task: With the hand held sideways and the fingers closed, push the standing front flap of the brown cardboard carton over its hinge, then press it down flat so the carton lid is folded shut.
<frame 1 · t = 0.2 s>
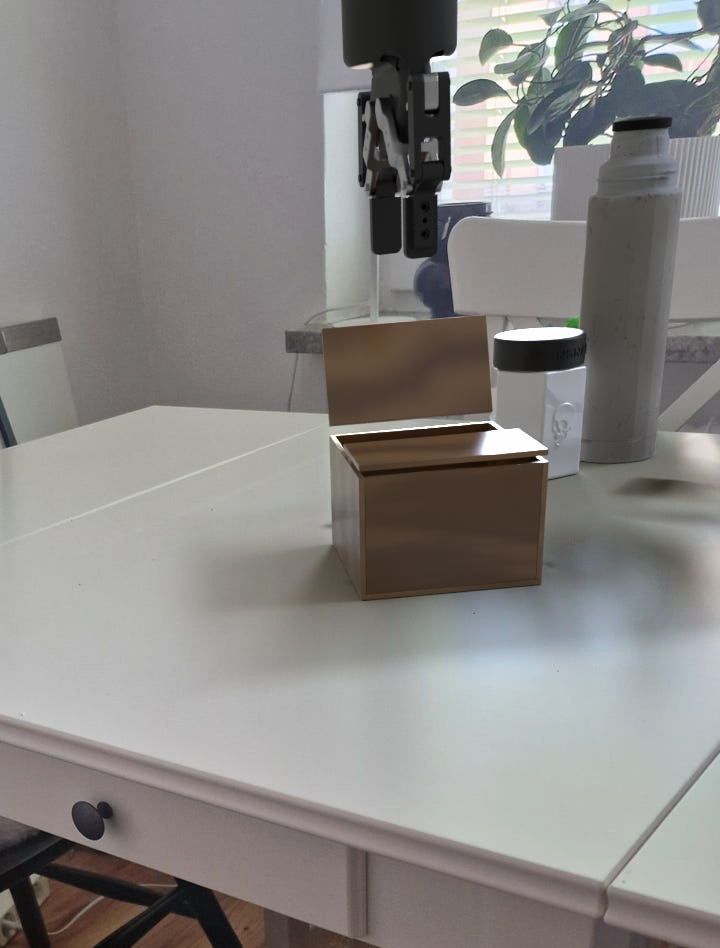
hand: (402, 255, 83), 20 cm above the table, tool pointing down, fingers open, 8 cm apart
carton: (429, 562, 88), on the table
flap: (407, 370, 89), point 12 cm above the table, hinge at 115.0°
thermos bottle: (611, 456, 114), on the table
fruit basket: (596, 431, 124), on the table
jar: (532, 473, 110), on the table
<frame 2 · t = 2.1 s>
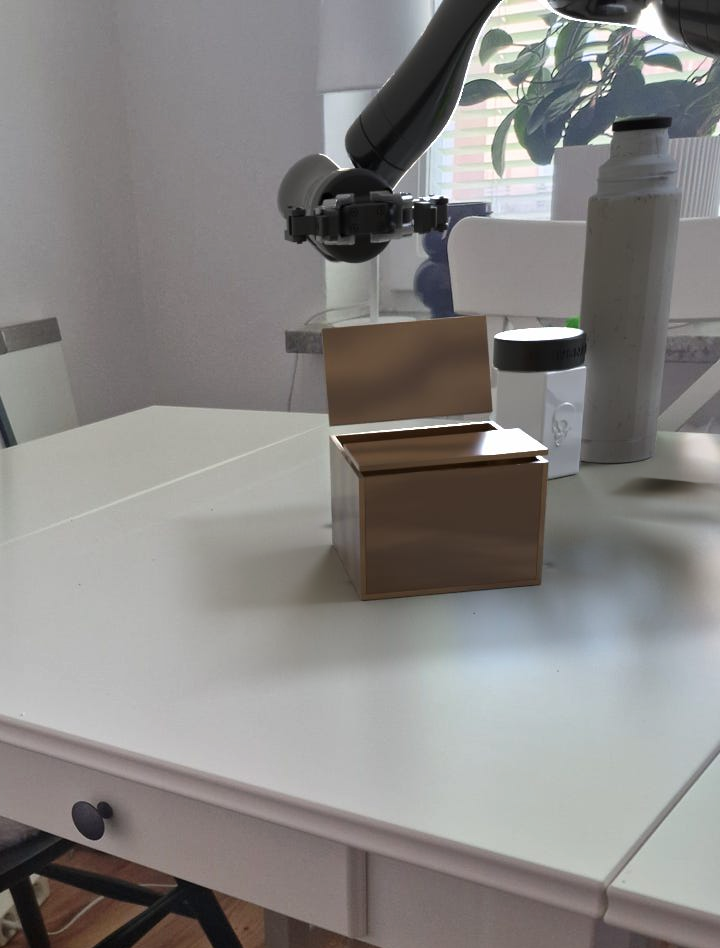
hand: (380, 222, 94), 22 cm above the table, tool horizontal, fingers open, 7 cm apart
nothing on the table moved.
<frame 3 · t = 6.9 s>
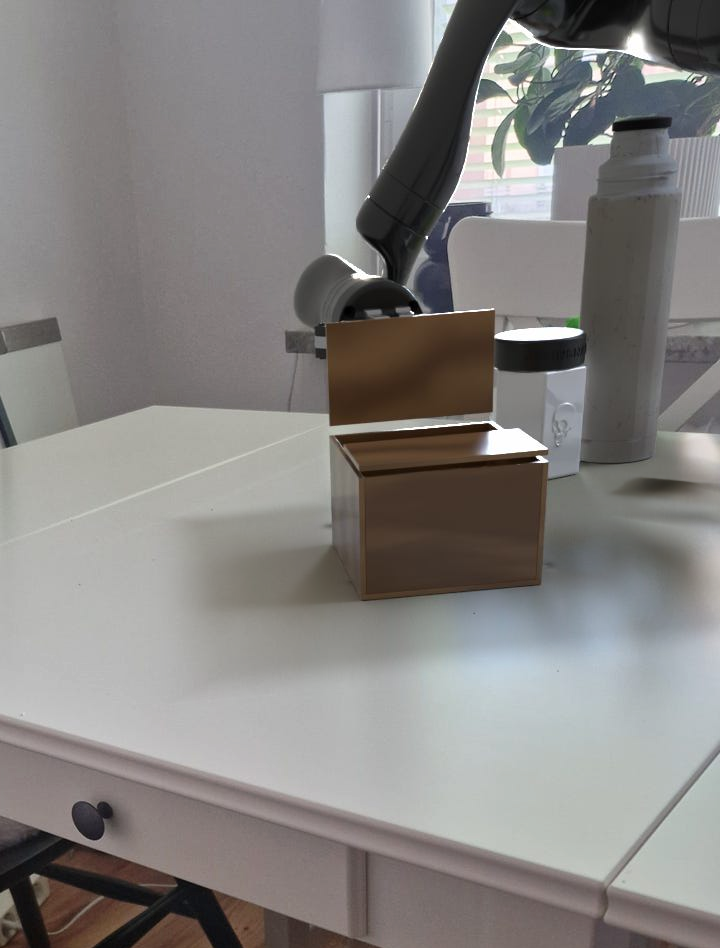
hand: (409, 348, 88), 14 cm above the table, tool horizontal, fingers closed
flap: (410, 368, 88), point 13 cm above the table, hinge at 93.6°, touching gripper
everything else where it was.
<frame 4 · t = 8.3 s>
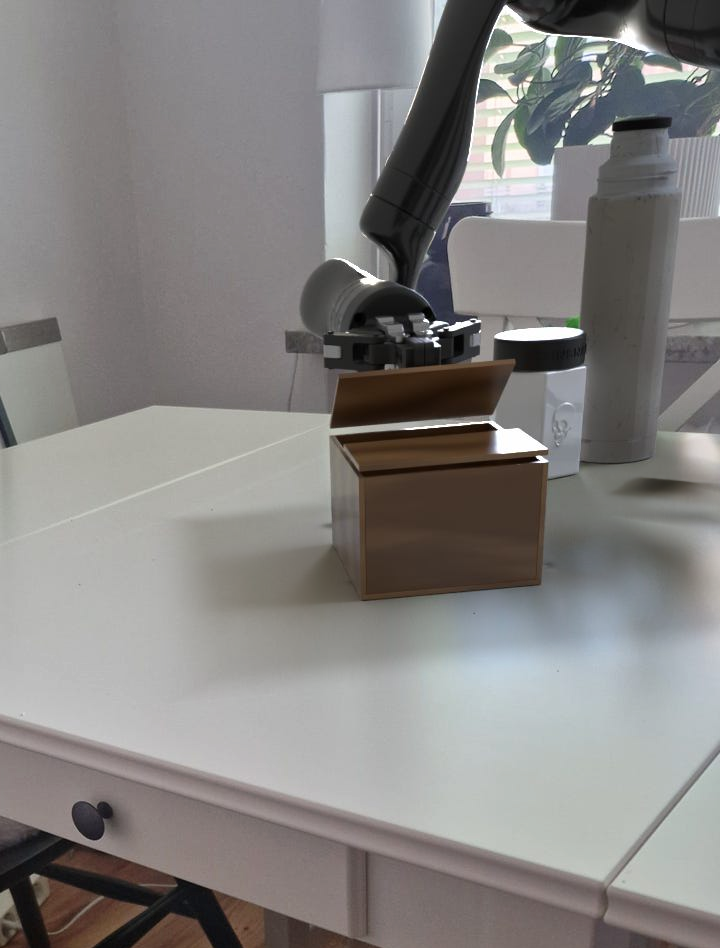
hand: (424, 359, 83), 14 cm above the table, tool horizontal, fingers closed
flap: (418, 395, 86), point 11 cm above the table, hinge at 37.9°, touching gripper
everything else where it was.
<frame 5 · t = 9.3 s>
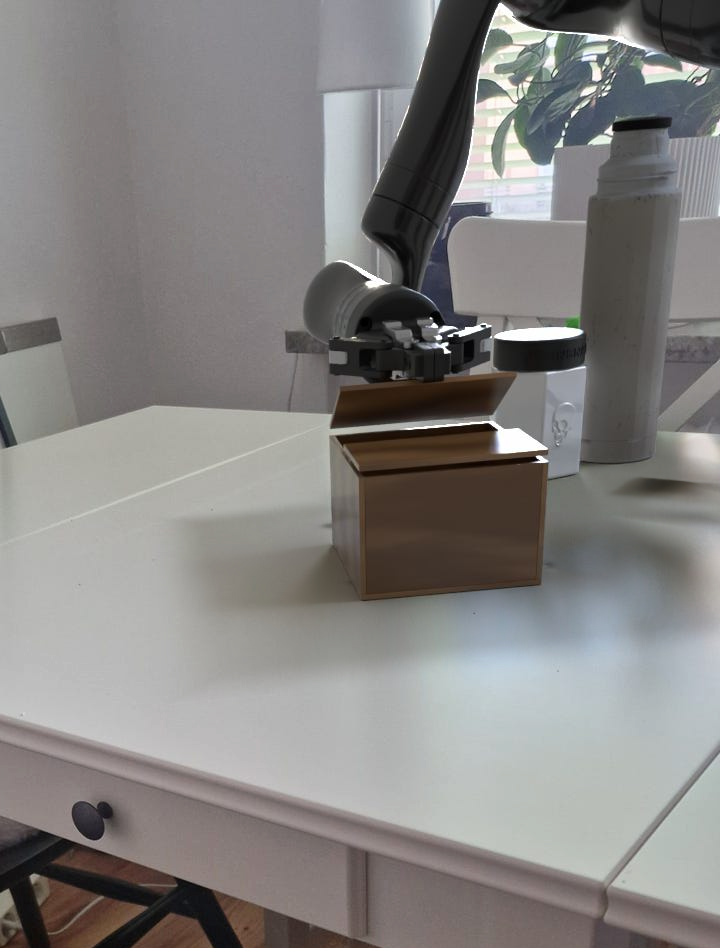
hand: (434, 366, 80), 14 cm above the table, tool horizontal, fingers closed
flap: (419, 401, 86), point 11 cm above the table, hinge at 30.6°, touching gripper
everything else where it was.
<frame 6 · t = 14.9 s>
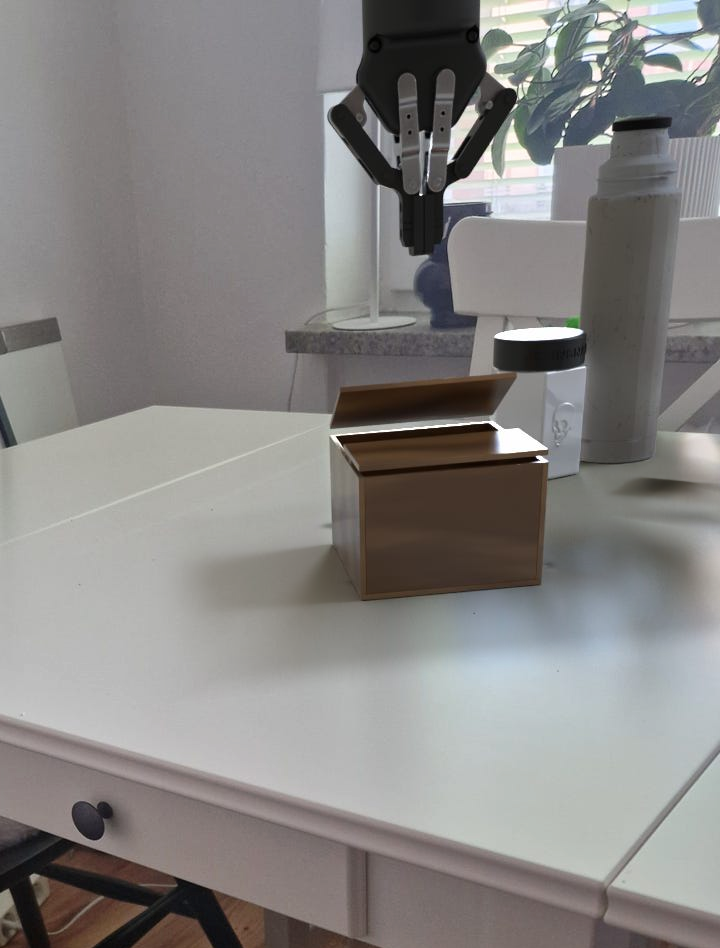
hand: (421, 254, 82), 21 cm above the table, tool pointing down, fingers closed
flap: (419, 401, 86), point 11 cm above the table, hinge at 30.1°
everything else where it was.
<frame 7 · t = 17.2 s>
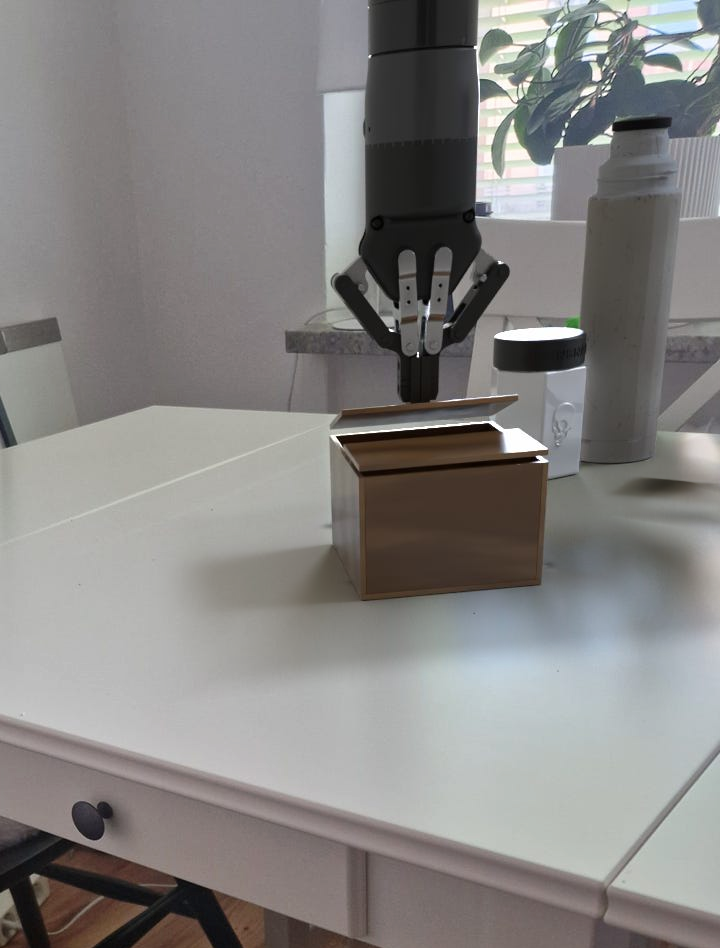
hand: (417, 407, 86), 10 cm above the table, tool pointing down, fingers closed
flap: (420, 412, 86), point 10 cm above the table, hinge at 17.6°, touching gripper
everything else where it was.
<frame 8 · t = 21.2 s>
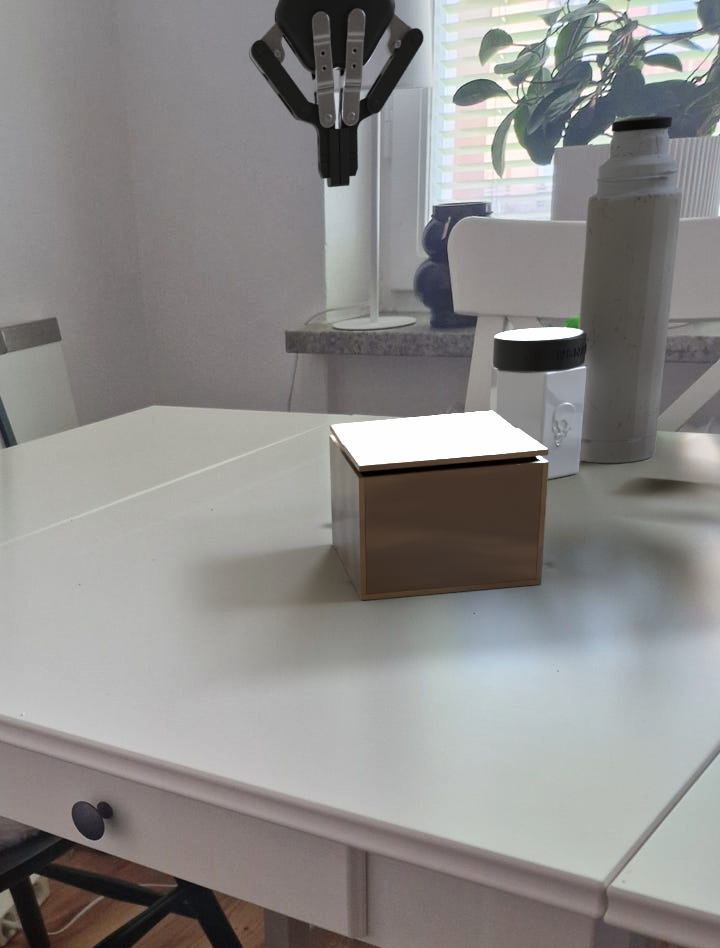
hand: (338, 185, 88), 25 cm above the table, tool pointing down, fingers closed
flap: (420, 430, 87), point 9 cm above the table, hinge at -1.1°
everything else where it was.
at the end: flap at -1° (first picture: +115°); thermos bottle tilted 0° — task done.
